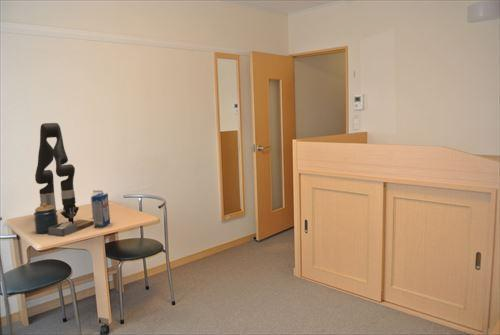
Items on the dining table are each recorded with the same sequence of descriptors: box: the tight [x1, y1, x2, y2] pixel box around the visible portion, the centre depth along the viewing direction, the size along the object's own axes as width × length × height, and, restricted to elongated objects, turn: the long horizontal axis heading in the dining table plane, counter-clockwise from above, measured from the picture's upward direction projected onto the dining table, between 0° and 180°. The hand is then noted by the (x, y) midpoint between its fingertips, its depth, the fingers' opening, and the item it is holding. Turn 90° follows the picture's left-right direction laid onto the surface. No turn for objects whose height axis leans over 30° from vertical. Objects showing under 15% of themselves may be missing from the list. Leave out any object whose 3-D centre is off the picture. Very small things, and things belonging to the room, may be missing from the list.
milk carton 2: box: [91, 192, 111, 229], centre depth 254 cm, size 10×6×20 cm, turn 178°
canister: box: [33, 203, 59, 234], centre depth 247 cm, size 13×13×18 cm
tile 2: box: [60, 221, 73, 227], centre depth 245 cm, size 5×5×3 cm
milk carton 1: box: [90, 189, 104, 219], centre depth 275 cm, size 7×7×19 cm
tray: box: [47, 222, 78, 237], centre depth 242 cm, size 12×11×4 cm
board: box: [73, 219, 94, 232], centre depth 254 cm, size 12×14×2 cm
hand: (71, 223), depth 248 cm, fingers closed
